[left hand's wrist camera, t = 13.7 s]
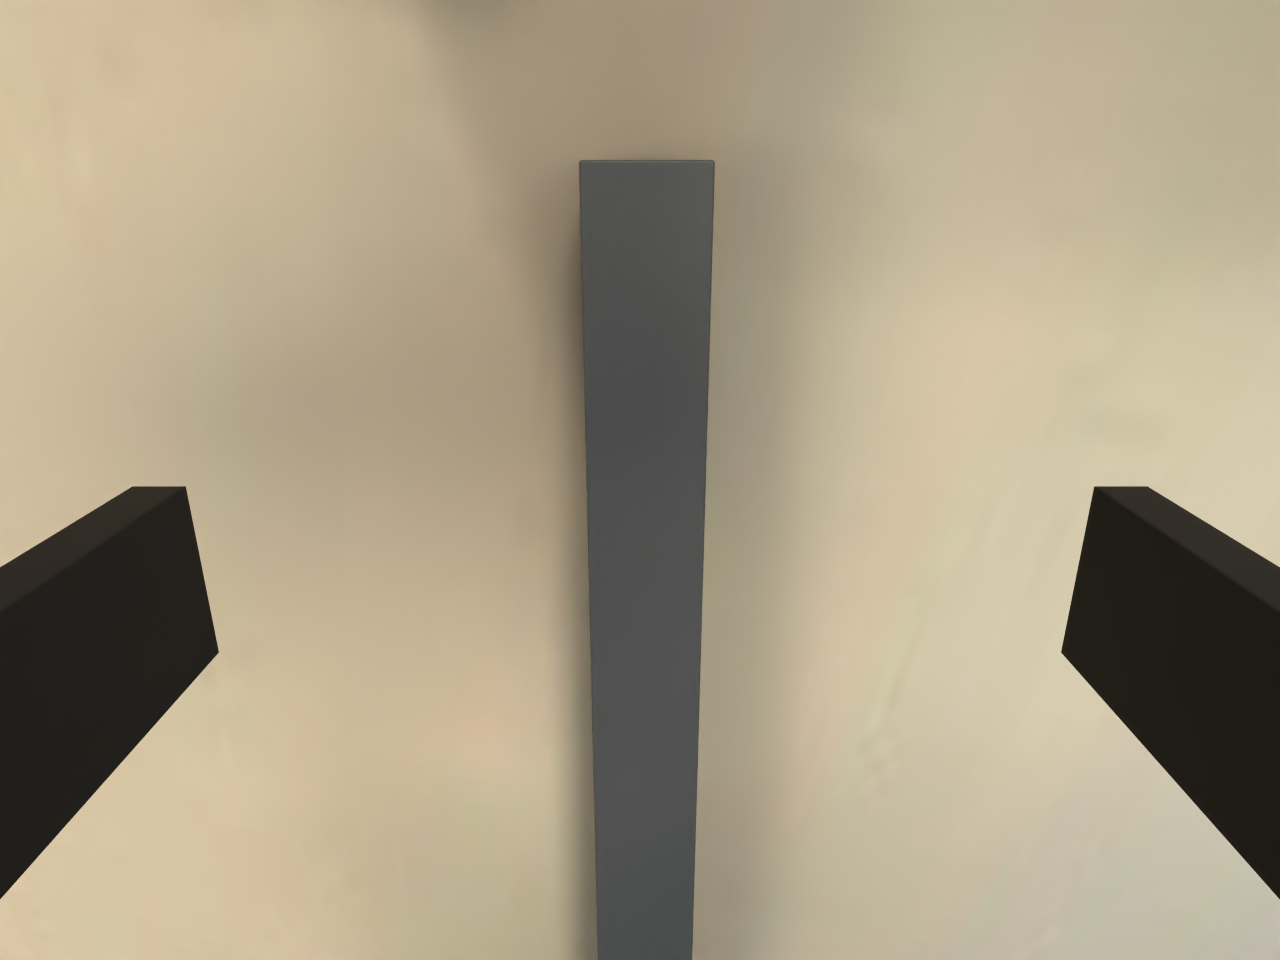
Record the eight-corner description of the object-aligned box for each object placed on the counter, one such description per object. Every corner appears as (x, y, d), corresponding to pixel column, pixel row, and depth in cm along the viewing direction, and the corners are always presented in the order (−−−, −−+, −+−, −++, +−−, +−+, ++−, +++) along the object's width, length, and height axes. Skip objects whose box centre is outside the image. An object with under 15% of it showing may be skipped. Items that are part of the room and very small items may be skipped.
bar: (591, 163, 34) (578, 160, 27) (699, 163, 34) (715, 160, 27) (612, 1306, 61) (609, 1454, 54) (673, 1307, 61) (677, 1454, 54)
